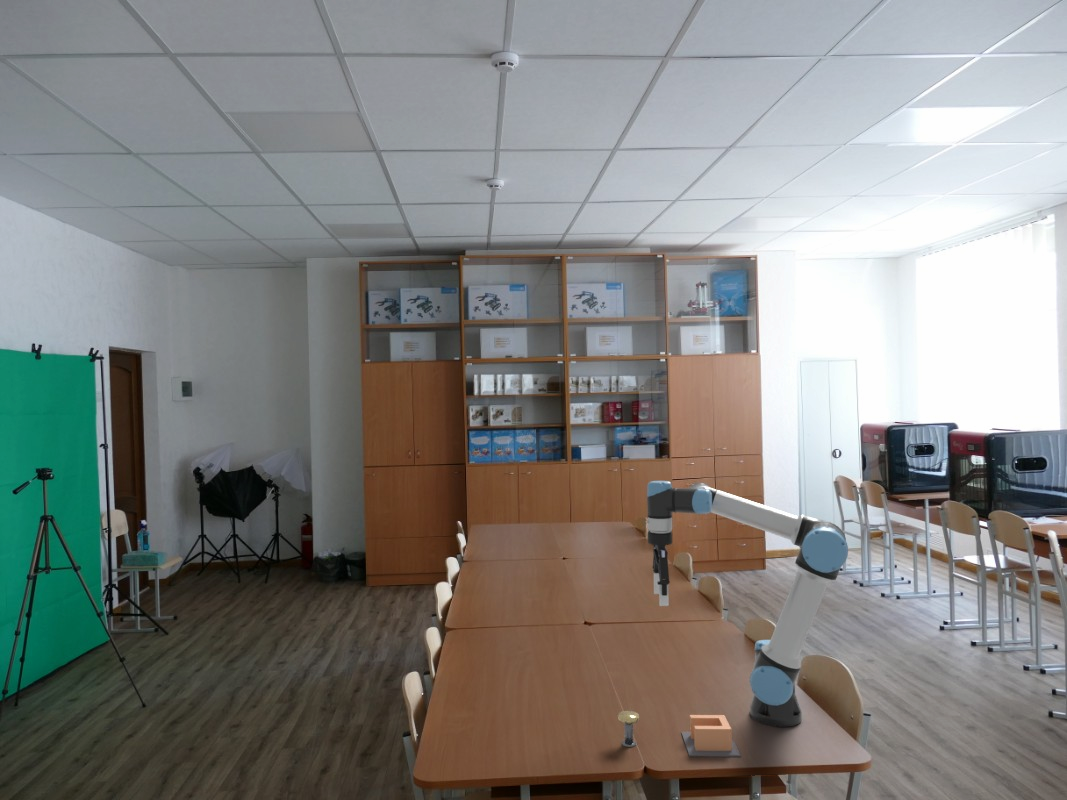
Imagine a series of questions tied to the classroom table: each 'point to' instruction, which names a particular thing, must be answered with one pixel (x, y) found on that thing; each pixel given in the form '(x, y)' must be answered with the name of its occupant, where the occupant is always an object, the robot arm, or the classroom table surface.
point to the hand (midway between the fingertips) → (661, 599)
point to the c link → (711, 733)
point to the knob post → (628, 726)
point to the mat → (693, 752)
